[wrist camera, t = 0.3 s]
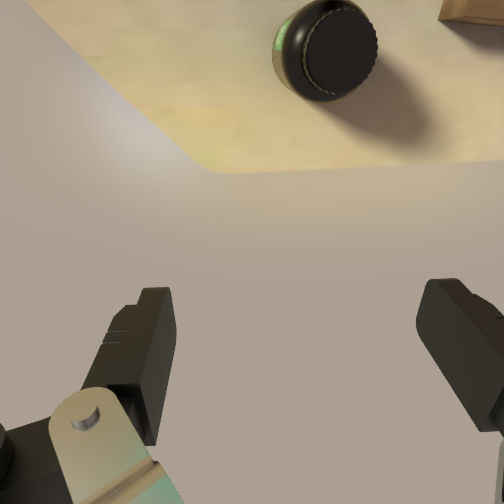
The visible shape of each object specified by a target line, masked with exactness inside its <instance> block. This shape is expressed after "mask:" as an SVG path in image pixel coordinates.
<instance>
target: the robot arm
mask: <svg viewBox="0 0 504 504" xmlns="http://www.w3.org/2000/svg"><path fill="white" fill-rule="evenodd" d="M416 328H417V332H418V335H419V337H420V339H421V340H422V342H423V343H424V345H425V346H426V348H427V350H428V351H429V353H430V354H431V356H432V357H433V359H434V361H435V362H436V364H437V365H438V367H439V369H440V370H441V371H442V373H443V375H444V376H445V378H446V379H447V381H448V383H449V384H450V386H451V387H452V389H453V391H454V392H455V394H456V395H457V397H458V398H459V400H460V401H461V403H462V405H463V406H464V408H465V409H466V411H467V412H468V414H469V416H470V417H471V419H472V420H473V422H474V424H475V425H476V427H477V428H478V430H479V431H480V432H491V431H499V432H500V433H501V434H502V436H503V437H504V316H503V314H502V313H501V312H500V311H499V310H498V309H497V308H496V307H495V306H494V305H492V304H491V303H489V302H488V301H486V300H484V299H483V298H481V297H479V296H478V295H476V294H472V293H471V292H470V291H469V290H468V289H467V288H466V287H465V285H464V284H463V283H462V282H461V281H460V280H458V279H456V278H449V279H430V280H429V281H428V282H427V284H426V286H425V289H424V293H423V296H422V300H421V303H420V306H419V310H418V313H417V317H416ZM175 346H176V322H175V316H174V310H173V304H172V297H171V291H170V288H169V287H155V288H143V290H142V292H141V295H140V297H139V300H138V303H137V305H125V307H123V308H122V309H121V310H120V311H119V312H118V313H117V314H116V315H115V316H114V317H113V320H112V322H111V324H110V326H109V329H108V333H106V335H105V337H104V340H103V344H102V345H101V346H100V348H99V351H98V353H97V355H96V357H95V360H94V362H93V364H92V366H91V368H90V370H89V373H88V375H87V377H86V379H85V382H84V384H83V386H82V388H81V390H80V391H78V392H76V393H74V394H72V395H71V396H69V397H68V398H66V399H65V400H64V401H63V402H62V403H61V404H60V405H59V406H58V407H57V408H56V409H55V411H54V412H53V414H52V416H50V417H48V418H45V419H43V420H40V421H37V422H34V423H31V424H27V425H24V426H22V427H18V428H15V429H12V430H9V431H5V429H4V427H3V426H2V425H1V424H0V504H184V502H183V500H182V499H181V497H180V495H179V494H178V492H177V490H176V489H175V487H174V485H173V484H172V482H171V480H170V478H169V477H168V475H167V474H166V472H165V470H164V469H163V467H162V466H161V465H160V463H159V462H158V461H155V462H154V460H153V459H152V457H151V456H150V454H149V452H148V451H147V449H146V447H145V446H155V445H156V441H157V435H158V431H159V426H160V421H161V416H162V411H163V406H164V401H165V396H166V391H167V386H168V380H169V375H170V371H171V366H172V360H173V356H174V351H175ZM494 504H504V439H503V440H502V442H501V444H500V448H499V459H498V470H497V481H496V492H495V503H494Z"/></svg>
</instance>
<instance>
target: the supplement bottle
mask: <svg viewBox="0 0 504 504" xmlns="http://www.w3.org/2000/svg"><path fill="white" fill-rule="evenodd" d="M377 40H378V39H377V37H376V31H375V30H374V29H373V24H372V23H370V21H369V19H368V17H367V15H366V14H365V13H364V11H363V10H362V9H361V8H360V7H359V6H358V5H356V4H355V3H354V2H352V1H350V0H315V1H313V2H311V3H309V4H307V5H306V6H304V7H303V8H301V9H300V10H298V11H297V12H295V13H294V14H292V15H291V16H290V17H289V18H288V19H287V20H285V22H284V23H283V24H282V25H281V27H280V28H279V30H278V32H277V34H276V36H275V39H274V43H273V48H272V61H273V66H274V69H275V72H276V74H277V76H278V78H279V79H280V81H281V82H282V83H283V84H284V85H285V86H286V87H287V88H288V89H290V90H291V91H293V92H294V93H296V94H297V95H299V96H300V97H302V98H303V99H305V100H308V101H311V102H314V103H321V104H323V103H332V102H336V101H339V100H341V99H343V98H345V97H347V96H348V95H350V94H351V93H352V92H353V91H355V90H356V89H357V88H358V86H359V85H360V84H362V82H363V81H364V80H365V79H366V78H367V77H368V74H369V73H370V72H371V71H372V67H373V66H374V64H375V59H376V57H377V50H378V45H377Z"/></svg>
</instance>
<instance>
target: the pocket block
mask: <svg viewBox="0 0 504 504" xmlns="http://www.w3.org/2000/svg"><path fill="white" fill-rule="evenodd" d="M438 20H442V21H452V22H463V23H473V24H483V25H493V26H504V0H444V1H443V4H442V8H441V11H440V15H439V18H438Z"/></svg>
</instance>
